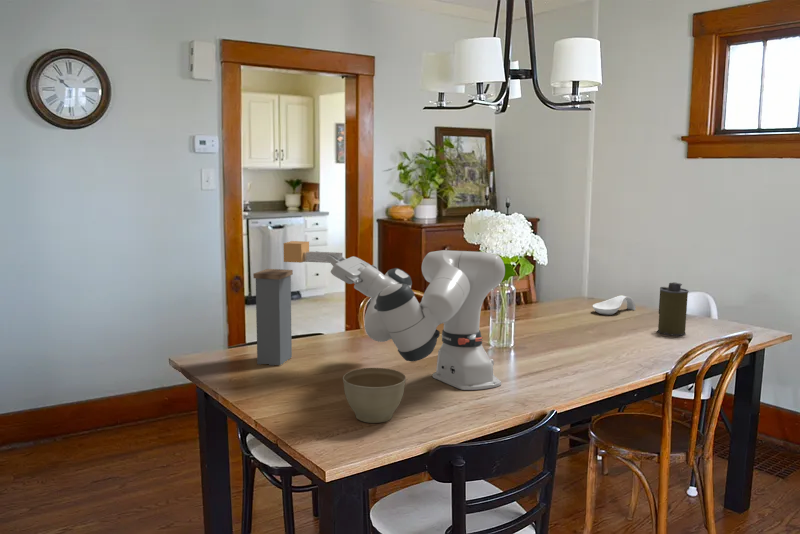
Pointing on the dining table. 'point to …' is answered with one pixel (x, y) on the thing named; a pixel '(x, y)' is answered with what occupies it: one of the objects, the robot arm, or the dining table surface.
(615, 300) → the spoon rest
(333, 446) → the dining table surface
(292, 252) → the bar
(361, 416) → the planter bowl
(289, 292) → the cabinet stand
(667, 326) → the canister
